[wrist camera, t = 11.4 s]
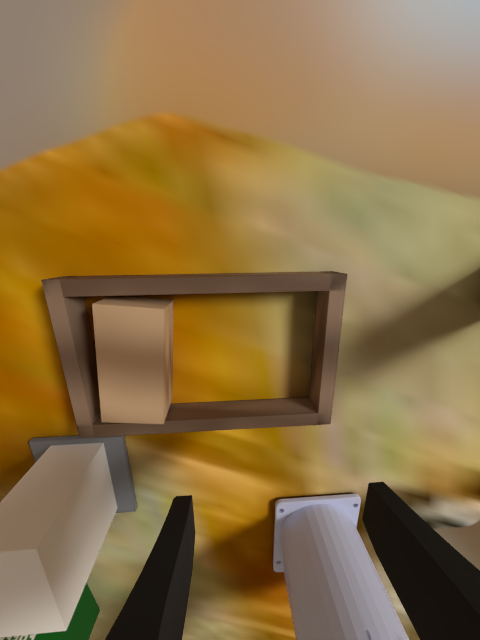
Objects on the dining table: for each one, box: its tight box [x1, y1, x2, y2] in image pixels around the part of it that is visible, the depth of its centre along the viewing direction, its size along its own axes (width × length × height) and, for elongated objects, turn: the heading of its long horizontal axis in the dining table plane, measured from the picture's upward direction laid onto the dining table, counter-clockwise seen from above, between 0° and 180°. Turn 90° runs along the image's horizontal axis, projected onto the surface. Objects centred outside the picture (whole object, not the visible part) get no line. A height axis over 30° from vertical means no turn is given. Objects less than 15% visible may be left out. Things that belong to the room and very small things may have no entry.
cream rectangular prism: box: [0, 443, 117, 637], centre depth 16 cm, size 7×4×7 cm, turn 1°
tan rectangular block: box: [92, 296, 174, 424], centre depth 16 cm, size 8×4×3 cm, turn 175°
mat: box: [29, 435, 137, 513], centre depth 20 cm, size 8×7×1 cm
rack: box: [41, 271, 347, 438], centre depth 17 cm, size 11×18×2 cm, turn 91°
